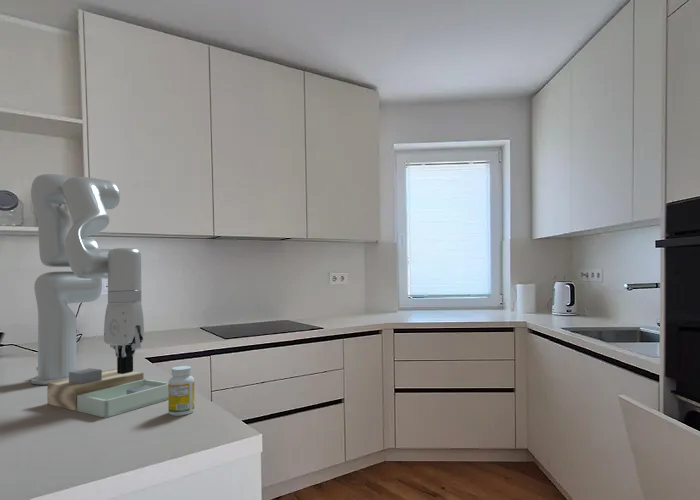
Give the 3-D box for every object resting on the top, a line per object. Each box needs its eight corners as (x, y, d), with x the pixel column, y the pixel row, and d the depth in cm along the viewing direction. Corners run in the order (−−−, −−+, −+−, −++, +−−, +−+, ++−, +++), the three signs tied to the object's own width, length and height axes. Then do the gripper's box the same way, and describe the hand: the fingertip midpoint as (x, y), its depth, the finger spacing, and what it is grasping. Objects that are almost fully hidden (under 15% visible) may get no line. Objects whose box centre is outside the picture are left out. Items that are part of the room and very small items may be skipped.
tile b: (68, 382, 110) (68, 372, 110) (89, 377, 114) (89, 368, 114) (80, 384, 107) (80, 374, 107) (101, 379, 112) (101, 369, 112)
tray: (77, 411, 103) (77, 395, 103) (145, 392, 118) (144, 379, 118) (105, 417, 98) (105, 401, 98) (173, 397, 112) (173, 383, 113)
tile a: (139, 392, 107) (139, 402, 107) (158, 387, 111) (158, 397, 111) (126, 389, 109) (126, 400, 109) (145, 385, 114) (145, 395, 113)
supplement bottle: (181, 417, 97) (181, 371, 97) (162, 414, 99) (162, 369, 100) (200, 410, 102) (199, 366, 102) (181, 407, 104) (181, 364, 104)
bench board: (47, 404, 110) (47, 382, 110) (115, 387, 124) (115, 368, 125) (75, 410, 104) (75, 388, 104) (143, 392, 118) (143, 372, 118)
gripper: (92, 298, 116) (92, 373, 115) (129, 299, 108) (129, 378, 107) (120, 297, 122) (121, 367, 121) (157, 297, 114) (158, 372, 114)
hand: (125, 372), depth 114 cm, fingers closed
